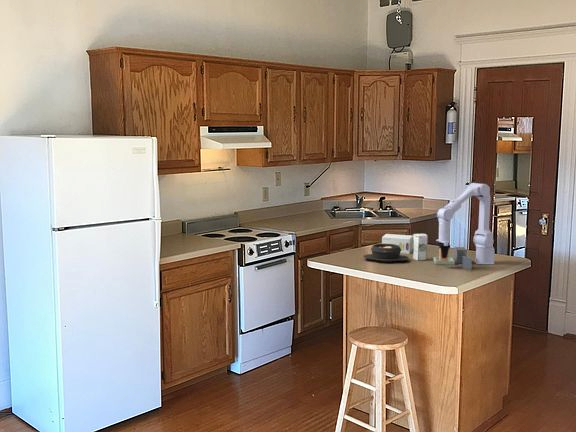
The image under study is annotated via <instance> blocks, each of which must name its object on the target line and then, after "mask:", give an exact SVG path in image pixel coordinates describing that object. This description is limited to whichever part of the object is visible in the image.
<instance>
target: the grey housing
mask: <svg viewBox="0 0 576 432" xmlns="http://www.w3.org/2000/svg"><path fill="white" fill-rule="evenodd" d="M467 251H468V250H467V249H466V247H464V246H454V251H453V260H454V261H455V265H457V266H458V265H460V266H462V256H467V253H468V252H467ZM455 265H454V266H455Z"/></svg>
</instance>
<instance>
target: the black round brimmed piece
mask: <svg viewBox="0 0 576 432" xmlns="http://www.w3.org/2000/svg"><path fill="white" fill-rule="evenodd" d="M370 251H371V253H369V254H368V253H367V254H364V255H363V256H362V257H363V258H364V259H366V260H374V261H376V262H379V263H394V262H397V261H407V260H408V259H409V256H407V255H401V253H400V252H401V249H400V246H399V245H395V244H382V243H376V244H373V245H372V246H371V248H370Z"/></svg>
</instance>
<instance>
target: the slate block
mask: <svg viewBox="0 0 576 432" xmlns="http://www.w3.org/2000/svg"><path fill="white" fill-rule="evenodd" d="M472 260H473V259H472V257H471V256H462V265H461V267H462V269H463V270H472Z"/></svg>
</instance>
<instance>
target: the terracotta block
mask: <svg viewBox="0 0 576 432" xmlns="http://www.w3.org/2000/svg"><path fill="white" fill-rule="evenodd" d="M438 255H439V256H438V257H439V260H440V261H448V257H449V253H448V254H447V258H442V253H441V248H439V253H438Z"/></svg>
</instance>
